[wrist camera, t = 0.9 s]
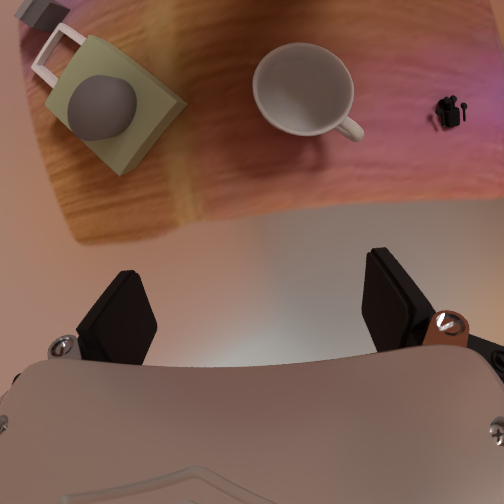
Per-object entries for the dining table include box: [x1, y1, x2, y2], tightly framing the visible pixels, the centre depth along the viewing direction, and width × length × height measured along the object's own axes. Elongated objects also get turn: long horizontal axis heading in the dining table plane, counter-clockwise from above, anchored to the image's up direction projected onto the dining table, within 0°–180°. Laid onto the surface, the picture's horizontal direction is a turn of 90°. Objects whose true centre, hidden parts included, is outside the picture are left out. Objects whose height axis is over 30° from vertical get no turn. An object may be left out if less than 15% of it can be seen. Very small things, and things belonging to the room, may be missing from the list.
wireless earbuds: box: [435, 95, 467, 127], centre depth 29 cm, size 7×2×5 cm
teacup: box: [252, 43, 364, 142], centre depth 28 cm, size 14×11×8 cm
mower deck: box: [31, 23, 188, 176], centre depth 26 cm, size 12×29×9 cm, turn 46°
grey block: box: [14, 0, 70, 33], centre depth 20 cm, size 5×8×7 cm, turn 46°
